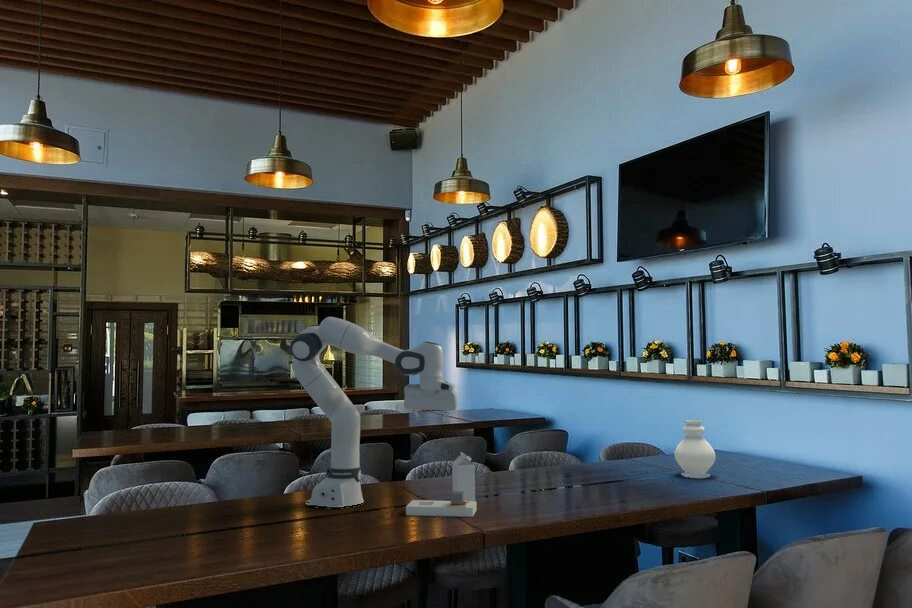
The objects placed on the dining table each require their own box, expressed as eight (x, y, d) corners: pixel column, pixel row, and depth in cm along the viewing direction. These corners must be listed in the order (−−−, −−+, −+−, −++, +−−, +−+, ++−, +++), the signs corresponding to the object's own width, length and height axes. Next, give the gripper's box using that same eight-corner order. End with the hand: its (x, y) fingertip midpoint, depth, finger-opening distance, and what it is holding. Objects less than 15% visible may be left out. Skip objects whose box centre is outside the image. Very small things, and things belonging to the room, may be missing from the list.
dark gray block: (451, 513, 236) (451, 493, 236) (453, 510, 240) (453, 491, 240) (462, 513, 235) (462, 493, 235) (464, 511, 239) (463, 491, 239)
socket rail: (406, 517, 235) (406, 505, 235) (412, 511, 245) (412, 499, 245) (472, 519, 231) (472, 507, 232) (476, 512, 241) (476, 500, 241)
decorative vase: (667, 473, 309) (665, 419, 311) (699, 471, 314) (697, 418, 316) (691, 480, 292) (689, 423, 294) (725, 477, 297) (722, 421, 299)
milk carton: (457, 505, 253) (456, 455, 254) (452, 501, 259) (452, 452, 261) (475, 504, 254) (474, 454, 256) (470, 500, 261) (469, 451, 263)
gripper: (402, 384, 249) (401, 421, 248) (455, 385, 245) (455, 423, 244) (406, 383, 255) (405, 419, 254) (458, 385, 251) (457, 421, 250)
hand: (430, 421), depth 249 cm, fingers open, 8 cm apart
